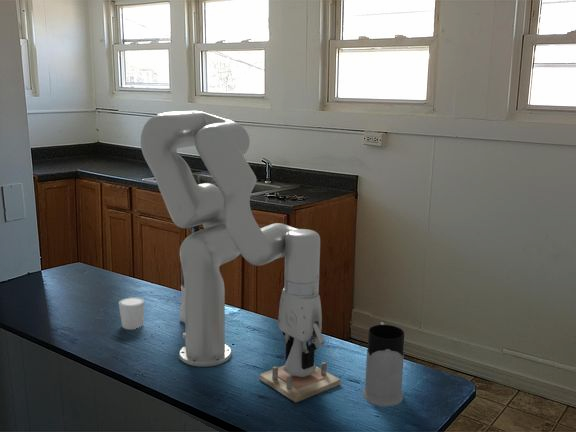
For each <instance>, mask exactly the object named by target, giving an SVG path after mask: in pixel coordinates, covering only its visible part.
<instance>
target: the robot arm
mask: <svg viewBox="0 0 576 432" xmlns="http://www.w3.org/2000/svg"><path fill="white" fill-rule="evenodd" d="M250 142H251V141H250V136H249V133H248V131H247V129H246V128H245V127H244V126H242V124H240V123H238V122H236V121H233V120H231V119H227V118H223V117H222V116H221V117H220V116H217V115H214V114H211V113H208V112H204V111H200V110H182V111H181V110H180V111H167V112H163V113H158V114H156V115H153V116H151V117H150V118H149V119H148V120H147V121H146V123H144V126H143V128H142V131H141V134H140V148H141V152H142V156H143V158H144V160H145V162H146V164H147V165H148V167H149V170H150V171H151V173H152V175H153V176H154V180H155V181H156V183H157V186H158V190H159V192H160V195H161V196H162V199H163V201H164V204H165V206H166V209H167V212H168V214H169V216H170V218H171V221H172V222H173V223H174V224H175V226H177V227H178V228H180V229H191V228H190V227H194V226H197V225H200V226H201V225H202V227H203V229H200V231H197V232H195V233H193V234H191V233H190V235H188V236H186V237H185V239H183V241H182V242H181V244H180V247H179V259H180V260H181V261H180V266H181V265H182V269H183V275H184V290H185V323H184V324H185V325H184V326H185V327H184V329H185V332H183V333H182V334H181V337H182V338H183V339H184V340H185V341H184V342H185V345H184V346H183V347H181V349H180V350H179V355H178V356H179V359H180V361H182V362H183V363H184V364H187V365H190V366H194V367H200V368H201V367H204V368H205V367H214V366H218V365H221V364H223V363H225V362H227V361H228V360H229V359H230V358H231V357H232V349H231V347H230V345H227V344H226V329H225V327H226V323H225V322H226V321H225V320H226V319H225V318H226V313H225V312H226V310H225V309H226V308H225V306H226V305H225V303H226V302H225V297H226V294H225V282H224V278H223V277H222V274H221V272H220V266H223V265H224V264H227V263H229V262H231V261H234V260H235V259H236V258H237V257H238V256H240V255H241V256H242V258H244V259H245V261H246V262H247V263H249V264H250V265H253V266H256V267H257V266H264V265H265V266H266V265H267V264H269V263H271V262H273V261H275V260H276V259H280V258H281V259H282V258H284V287H283V289H282V290H281V295H280V300H279V309H278V322H277V327H278V329H279V330H280V331H281V332H282V334H283V335H282V336H284V339H283V341H284V343H285V360H286V361H287V359H288V356H289V354H290V351H291V348H292V346H293V341H294V338H296V339H297V340H299V341H302V342H303V348H304V352H302V369H307V368H310V367H313V366H314V363H315V351H317V349H318V348H320V347H322V346H323V345H324V344H325V340H324V338H323V335H322V326H323V325H322V322H323V317H322V304H321V296H320V294H319V291H320V290H319V288H320V287H319V286H320V263H321V262H320V260H321V259H320V258H321V236H320V234H319V233H318V232H317V231H315V230H313V229H308V228H307V229H306V228H296V227H293V226H291V225H288V224H286V223H279V222H276V223H271V224H268V225H265V226H264V227H260V226H259V225H258V222H257V221H256V219H255V217H254V215H253V213H252V210H251V202H250V201H251V195H252V192H253V190H254V188H255V186H256V184H257V176H256V174H255V172H254V171H253V169H252V168H251V166H250V164H249V163H248V161H247V159H246V158H245V156H244V155H245V154H246V153H247V151H248V150H249V148H250ZM188 147H195V149H196V151H197V153H198V155H199V157H200V159H201V160H202V162H203V164H204V166H205V167H206V169H207V171H208V172H209V174H210V176H211V177H212V180H214V182H215V184H216V185H215V184H213V183H209V182H204V183H199V184H198V183H197V182H196V180H195V177H194V175H193V172H192V170H191V167H190V166H189V164H188V163H187V162H186V160H185V159H184V158H183V157H182V156H181V155H180V154H179V153H178V152H177V150H178V149H181V148H182V149H183V148H188ZM309 342H310V344H309Z"/></svg>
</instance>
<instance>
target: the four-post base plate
mask: <svg viewBox="0 0 576 432" xmlns="http://www.w3.org/2000/svg"><path fill="white" fill-rule="evenodd" d="M327 365H328V364H327V362H325V361H324V362H321V367H318V366H316V365H315V366H316V369H315V371H314V373H313V374H311V375H308V376H305V377H299V376H293V375H290V374H288V373H287V372H285V371H284V370H283V368H284V366H285V364H284V365H281V366H279V367H278V366H273V367H272V368H271V369H270V370H268V371H265V372H262V373H260V374H258V375H259V376H258V377H259V378H258V379H259V380H260V381H262V382H263V383H265V384H266V385H268V386H270V387H271V388H272V389H274V390H276V391H277V392H279V393H281V394H282V395H283V396H285V397H286V398H288V399H290V400H291V401H293V403H294V402H295V403H298V402H301V401H303V400H306V399H308V398H310V397H313V396H315V395H318V394H320V393H323V392H325V391H327V390H329V389H333V388H336V387H338V386H340V385H341V379H340V378H338V377H337V376H335V375H333V374H331V373H330V372H328V371H327V370H328V369H327V367H328V366H327Z"/></svg>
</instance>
